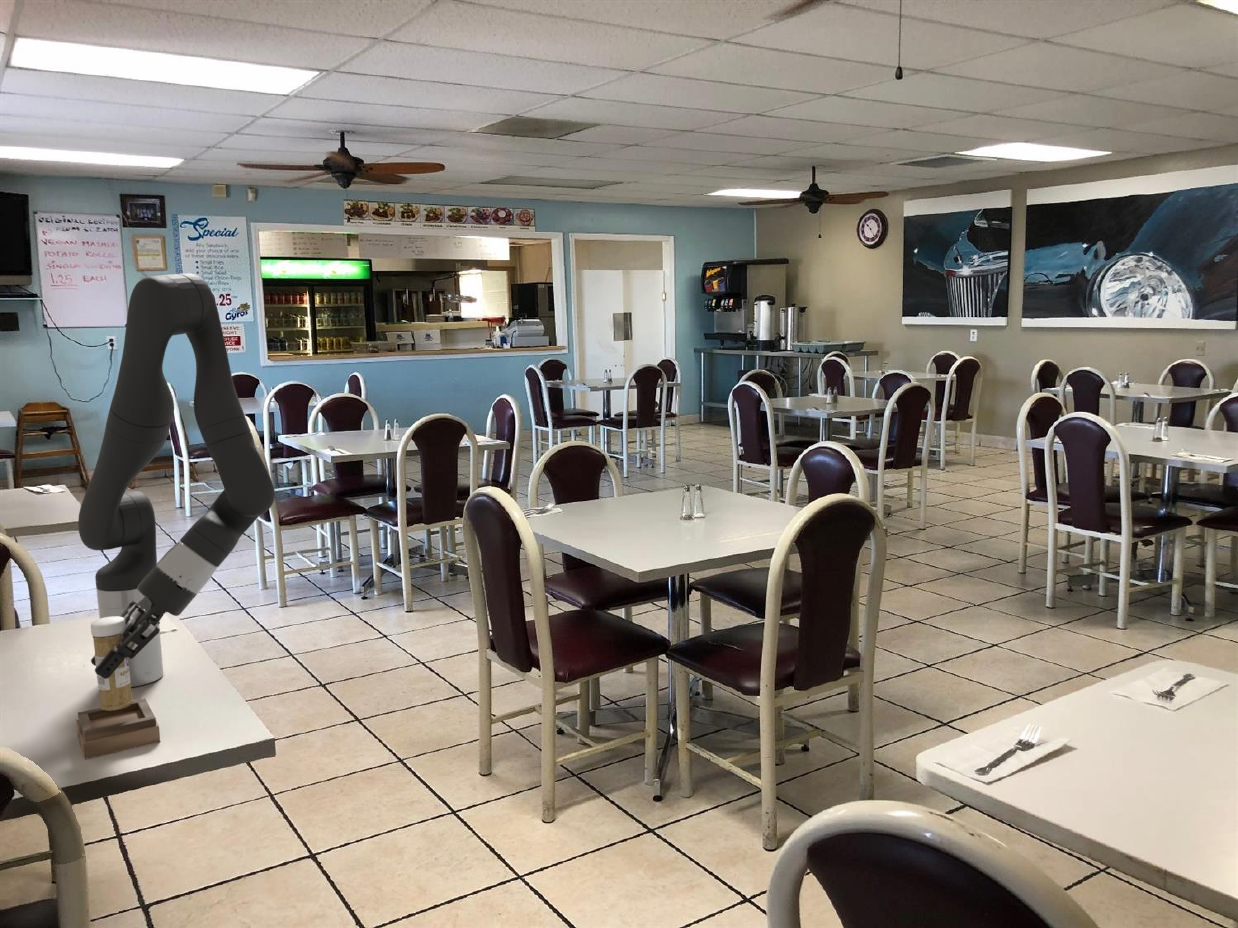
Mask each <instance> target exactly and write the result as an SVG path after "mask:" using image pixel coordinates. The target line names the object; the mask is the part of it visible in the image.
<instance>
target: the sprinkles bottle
mask: <svg viewBox="0 0 1238 928" xmlns="http://www.w3.org/2000/svg"><path fill="white" fill-rule="evenodd" d="M124 627H125V619H124V618H123V617H119V616H113V617H105V618H100V619H99V618H97V619H95V620H93V621H92V622H90V634H91V636H92V639H93V648H94V656H95V662H96V666H95V668H96V667H97V666H98V665H99V664H100V662H101V661H102V660H103V659H104V658H105V657H106V656H107V654H108V653H109V652H110V651H111V650H112V649H113V647H114V645H116V643H117V642H118V640H119V639H120V632H121V631H122V629H123V628H124ZM96 678H97V687H98V690H99V699H100V703H99V704H100V705H99V708H101V709H103V710H107V711H113V710H120V709H123V708H125V707H128V706H129V705H131V704H132V703H133V701H134V697H133V693H132V687H131V684H130V681H131V680H130V672H129V662H128V659H125V658H124V661H123V662H122V663H121V664H120V665H119V666H118V667H117V669H116V670H115V671H114V672H113V673H112V674H111V676H110V677H109V678H107V679H105V678H103V677H101V676H99V675H98V674H96Z"/></svg>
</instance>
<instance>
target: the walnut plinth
mask: <svg viewBox="0 0 1238 928" xmlns="http://www.w3.org/2000/svg"><path fill="white" fill-rule="evenodd" d="M75 723H76V724H75V725H76V733H77V738H79V739H78V743H79V744H80V748H81V751H82V754H83V757H84V760H87V759H92V758H97V757H101V756H104V755H109V754H114V753H117V752H122V751H127V750H131V749H135V748H139V747H144V746H148V745H152V744H156V742H157V743H161V736H160V734H161V733H160V725H159V723H158V722H157V719H156V716H155V714H154V712H153V710H152V709H151V707H150V704H149V703H148V700H147V699H146V698H141V699H137V700H133V703H132V704H131V705H129V706H128V707H125V708H123V709H120V710H113V711H107V710H103V709H101V708H100V707H98V708H94V709H93V708H92V709H88V710H85V711H84V710H83V711H79V712H77V719H75Z"/></svg>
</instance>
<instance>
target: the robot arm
mask: <svg viewBox="0 0 1238 928" xmlns="http://www.w3.org/2000/svg"><path fill="white" fill-rule="evenodd" d="M131 291H132V292H131V294H130V298H129V302H128V309H127V314H126V315H127V316H126V325H125V332H124V333H125V335H124V341H123V347H122V349H123V350H122V355H121V356H122V357H121V361H120V366H119V371H118V376H117V381H116V385H115V389H114V392H113V395H112V400H111V403H110V407H109V410H108V413H107V419H106V423H105V428H104V434H103V438H102V442H101V446H100V451H99V453H98V458H97V461H96V464H95V467H94V470H93V472H92V476H91V478H90V481H89V484H88V486H87V489H86V491H85V494H84V495H83V496H84V497H83V499H82V502H81V505H80V509H79V513H78V519H77V521H78V522H77V527H78V528H77V529H78V533H79V537H80V540H81V542H82V543H83V545H84V546H85V547H86V548H87V549H90V550H93V551H105V550H114V549H118V548H120V551H119V552H118V553H117V555H116V556H115V558H113V559H112V560H111V561H110V562H108V563H107V564H105V565H103V566H102V567H100V568H99V569H98V570H97V571H96V573H95V577H94V578H95V579H94V580H95V588H96V598H97V606H98V607H97V608H98V615H99V616H98V617H99V618H98V619H100V618H105V617H113V616H119V617H123V618H124V619H125V627H124V628H123V629H122V631H121V632H120V639H119V640H118V642H117V643H116V645H114V647H113V649H112V650H111V651H110V652H109V653H108V654H107V656H106V657H105V658H104V659H103V660H102V661H101V662H100V664H99V665H98V666H97V667H96V662H95V655H94V656H93V657H92V658H91V659H90V663H91V664H92V665H93V666H95V668H94V672H95V674H96V675H97V674H98V675H99V676H101V677H103V678H105V679H107V678H109V677H110V676H111V674H112V673H113V672H114V671H115V670H116V669H117V667H118V666H119V665H120V664H121V663H122V662H123V661H124V658H125V659H128V662H129V672H130V680H131V681H130V684H131V688H132V687H139V686H143V685H147V684H150V683H153V682H155V681H157V680H160V679H161V678H162V677H163V676H164V667H163V666H164V663H163V654H162V641H161V628H160V624H161V620H162V618H163V616H164V615H165V614H166V613H169V614H170V615H171V616H174V617H178V616H180V615H181V614H182V613H183V612H184V611H185V609H186V608H187V607H188V605H189V604H190V603H191V602H192V601H193V600H194V599H195V598H196V596H197V595H198V594H199V593H200V592H201V591H202V589H203V588H204V587H205V586H206V584H207V583H208V582H209V581H210V580H211V578H212V576H213V575H214V573H215V572H216V570H218V568H219V567H220V566H221V565H222V563H224V561H225V560H226V559H227V558H228V556H229V555H230V554H231V553H232V552H233V550H234V549H235V547H236V546H237V544H238V542H239V540H240V538H241V537H242V536H243V534H245V532H246V531H247V530H248V529H249V528H250V527H251V526H252V525H253V523H254V522H256V520H258V518H259V517H260V516H261V515H263V514H265V513H266V512H267V513H268V511H269V510H270V509H271V508H272V506H273V504H274V501H275V499H276V498H275V497H276V490H275V486H274V483H273V481H272V478H271V476H270V473H269V472H268V470H267V467H266V466H265V463H264V462H263V459H262V457H261V455H260V453H259V452H258V450H257V445H256V443H255V440H254V436H253V433H252V430H251V427H250V426H249V422H248V420H247V417H246V414H245V413H244V410H243V407H242V404H241V402H240V400H239V397H238V396H239V395H238V393H237V390H236V387H235V386H236V385H235V384H234V379H233V375H232V371H231V366H230V361H229V356H228V351H227V347H226V346H227V345H226V342H225V337H224V333H223V329H222V324H221V319H220V314H219V309H218V306H217V302H216V300H215V297H214V294H213V291H212V289H211V288H210V286H209V284H208V283H207V281H205V280H204V279H203V278H202V277H201V276H199V275H197V274H194V273H188V272H187V273H174V274H172V273H171V274H161V275H151V276H146V277H144V278H142V279H140V280H139V281H138V282H137V283H136V284H135V286H134V288H133V289H132V290H131ZM179 335H186V337H187V338H188V340H189V342H190V345H191V348H192V351H193V354H194V359H195V367H196V368H195V373H196V375H195V383H194V390H193V391H194V392H193V413H194V416H195V421H196V424H197V427H198V430H199V431H200V435H201V437H202V440H203V442H204V444H205V447H206V449H207V452H208V454H209V456H210V458H211V459H212V461H213V462H214V463H215V465H216V469H217V472H218V475H219V477H220V480H221V483H222V486H223V491H221V493H220V494H219V495H218V496H217V498H216V499H215V500H214V502H213V503H212V504H211V505H210V507H209V508H208V509H207V511H206V512H205V513H204V514H203V515H202V516H201V517H200V518H199V519H198V520H197V521H195V522H194V523H193V525H192V526H190V528H189V529H188V530H187V531H186V532H185V534H184V535H183V536H182V537H181V538H180V539H179V540H178V541H177V543H176V544H174V545H173V546H172V547H171V548H170V549H168V550H167V552H166V553H165V554H163V556H162V557H161V558H160V560H159V561H158V558H157V557H158V556H157V527H156V526H157V525H156V516H155V511H154V507H153V504H152V502H151V500H150V498H149V497H148V496H147V495H146V494H145V493H144V492H142V491H138V490H130V491H129V490H128V491H126V490H127V489H128V487H129V486H130V484H131V483H132V481H133V480H134V479H135V478H136V477H137V476H138V475H139V474H140V473H141V472H142V471H143V470H144V469H145V468H146V467H147V465H149V464H150V463H151V461H152V460H153V459H154V458H155V457H156V456H157V455H158V454H159V452H160V451H161V450H162V449H163V448H164V446H165V444H166V442H167V438H168V436H169V432H170V429H171V424H172V421H173V418H174V413H175V401H174V397H173V394H172V391H171V389H170V386H169V384H168V382H167V380H166V377H165V375H164V371H163V369H164V367H163V365H164V360H165V359H164V358H165V353H166V351H167V347H168V345H169V341H170V340H171V338H172V337H173V336H179Z"/></svg>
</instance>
